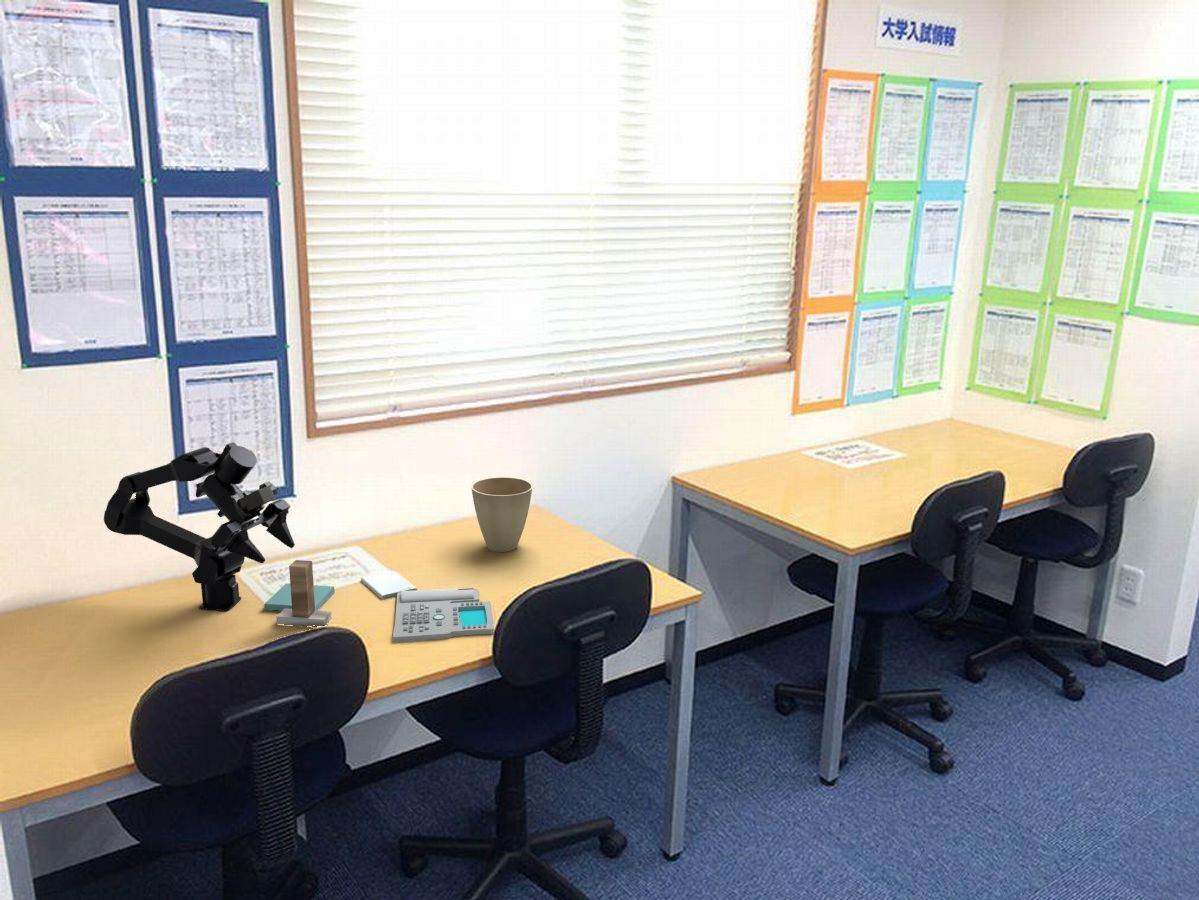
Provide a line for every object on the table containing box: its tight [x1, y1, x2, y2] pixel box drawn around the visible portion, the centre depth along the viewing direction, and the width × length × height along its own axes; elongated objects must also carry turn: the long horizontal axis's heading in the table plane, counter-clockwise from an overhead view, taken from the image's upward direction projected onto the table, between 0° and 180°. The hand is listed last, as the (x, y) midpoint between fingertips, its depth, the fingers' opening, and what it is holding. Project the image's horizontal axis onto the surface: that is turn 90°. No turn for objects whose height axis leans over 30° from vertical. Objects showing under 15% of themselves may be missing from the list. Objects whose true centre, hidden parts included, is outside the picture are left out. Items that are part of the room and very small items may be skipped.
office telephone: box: [392, 586, 495, 643], centre depth 208 cm, size 23×3×20 cm
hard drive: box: [360, 570, 418, 600], centre depth 222 cm, size 2×8×12 cm
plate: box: [264, 583, 335, 612], centre depth 213 cm, size 11×11×2 cm
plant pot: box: [470, 476, 533, 553], centre depth 245 cm, size 15×15×16 cm
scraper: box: [275, 559, 333, 629], centre depth 202 cm, size 4×10×13 cm, turn 84°
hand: (278, 554), depth 202 cm, fingers open, 9 cm apart
